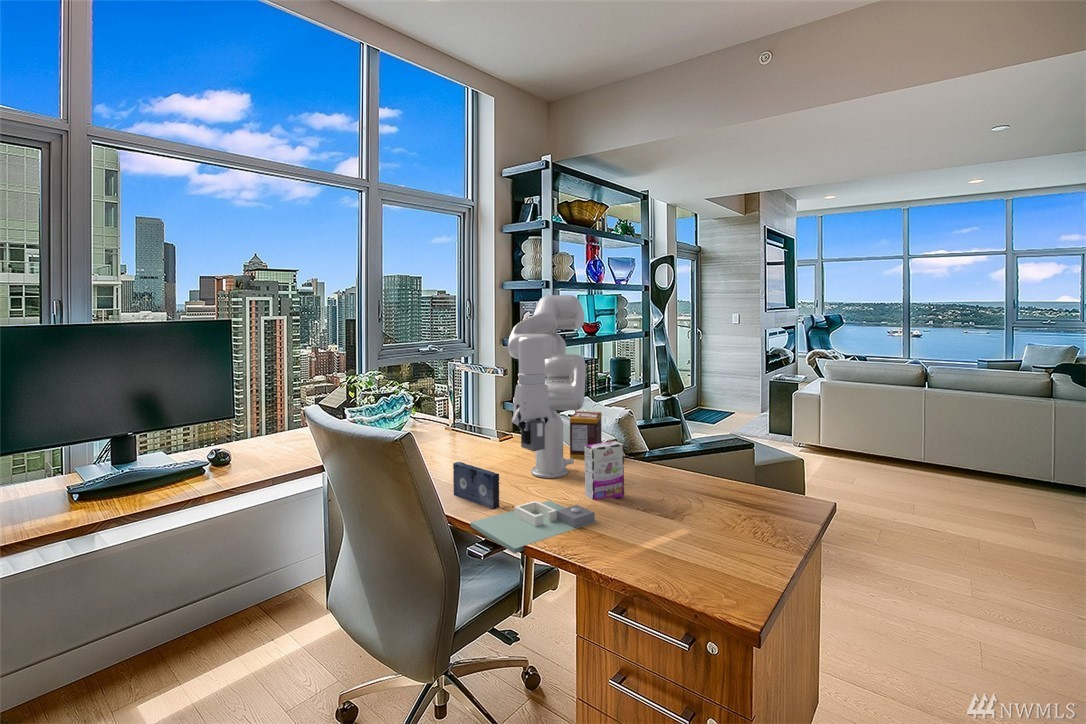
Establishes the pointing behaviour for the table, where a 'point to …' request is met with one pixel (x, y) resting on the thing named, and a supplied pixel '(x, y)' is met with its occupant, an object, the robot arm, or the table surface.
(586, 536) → the table surface
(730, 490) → the table surface
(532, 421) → the plug
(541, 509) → the board
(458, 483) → the vhs cassette tape
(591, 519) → the grey button box
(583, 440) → the supplement box
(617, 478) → the candy bar box
